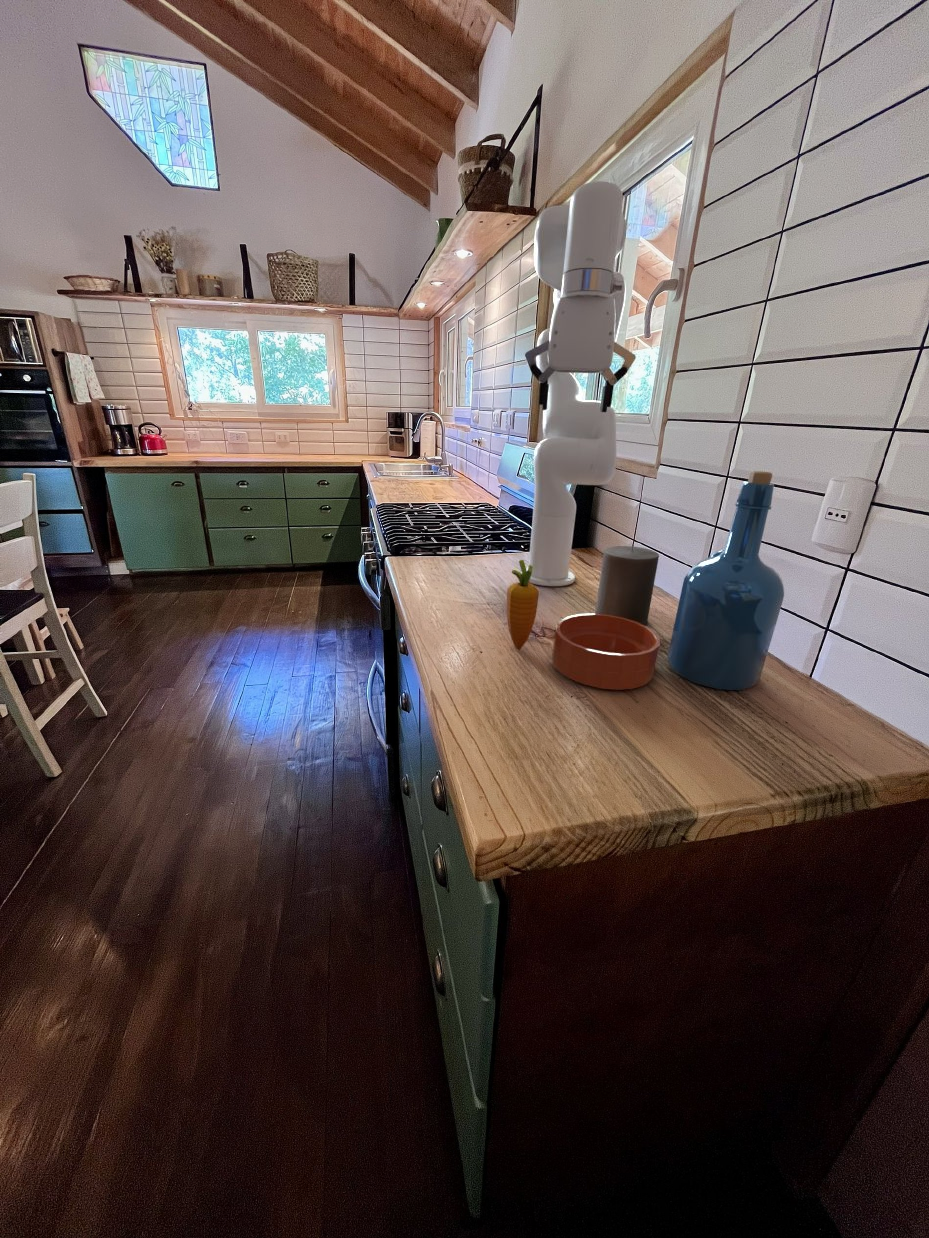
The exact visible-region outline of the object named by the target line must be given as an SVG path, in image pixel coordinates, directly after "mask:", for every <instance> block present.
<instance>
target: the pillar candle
mask: <svg viewBox="0 0 929 1238" xmlns="http://www.w3.org/2000/svg"><path fill="white" fill-rule="evenodd" d="M602 555H603V556H602V563H601V570H600V575H599V576H600V577H599V584H598V590H597V598H596V606H595V613H594V614H605V615H612V616H617V617H622V618H626V619H629V620H633V621H636V622H638V623H641V624H643V625H645V626H647V625H648V621H649V613H650V610H651V602H652V599H653V592H654V587H655V581H656V575H657V569H658V563H659V557H660V554H659V553H658V552H657V551H655V550H653V549H649V548H645V547H641V546H640V547H639V546H634V544H632V545H631V546H630V545H612V546H608V547H606V548H603V554H602ZM647 627H648V626H647Z"/></svg>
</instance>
